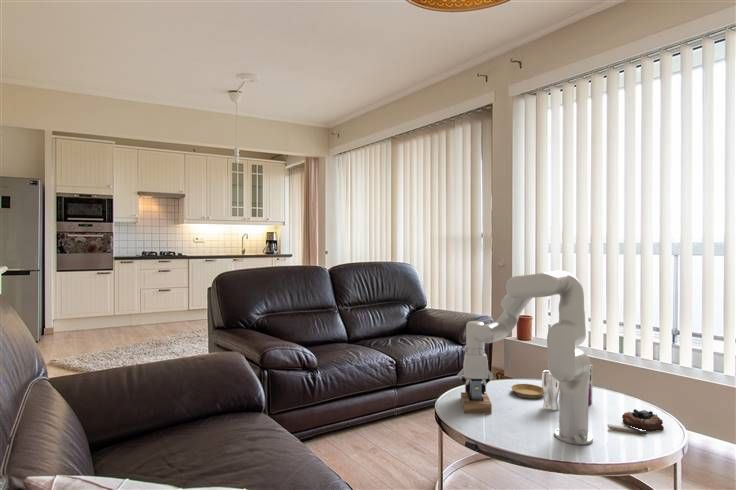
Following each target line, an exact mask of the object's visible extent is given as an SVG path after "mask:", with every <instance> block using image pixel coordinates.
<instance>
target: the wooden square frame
mask: <svg viewBox="0 0 736 490" xmlns="http://www.w3.org/2000/svg"><path fill="white" fill-rule="evenodd" d="M464 356H465V353H464ZM464 378H465V377H464ZM465 379H466V378H465ZM469 385H470V380H469ZM464 386H465V388H464V389H465V390H464V392H462V391H461V392H460V404H461V407H462V410H464V411H463V413H464V414H483V413H486V415H488V414H489V415H490V414H492V411H493V410H492V408H493V405H492V402H491V400H490V397H489V395H488V393H487V392H484V395H483V394H482V401H470V394H468V393H467V392H466V384H465V383H464Z"/></svg>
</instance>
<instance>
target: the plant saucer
mask: <svg viewBox="0 0 736 490" xmlns="http://www.w3.org/2000/svg"><path fill="white" fill-rule="evenodd" d="M511 389H512V391H513V392H514V394H515V395H517V396H518V397H521V398H525V399H538V398H541V397H543V396H544V395H543V389H542V386H540V385H536V384H530V383H518V384H517V383H516V384H513V385H512V386H511Z"/></svg>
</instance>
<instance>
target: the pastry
mask: <svg viewBox="0 0 736 490" xmlns="http://www.w3.org/2000/svg"><path fill="white" fill-rule="evenodd" d="M621 418H622V422H624V423H623V424H624V425H626V426H627V425H629V426H632V427H635V428H638V429H642V430H646V431H649V432H657V431H656V430H659V431H664V429H665V427H664V426H663V423H664V422H663V419H661V418H660V417H659V416H658V414H655V413H654V412H653V411H652V410H649V411H647V410H645V409H643V410H642V409H641V410H637V409H635V408H634V409H633V411H632V412H631V411H628V412H624V413H623V414H622V417H621ZM629 426H628V427H629Z"/></svg>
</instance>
